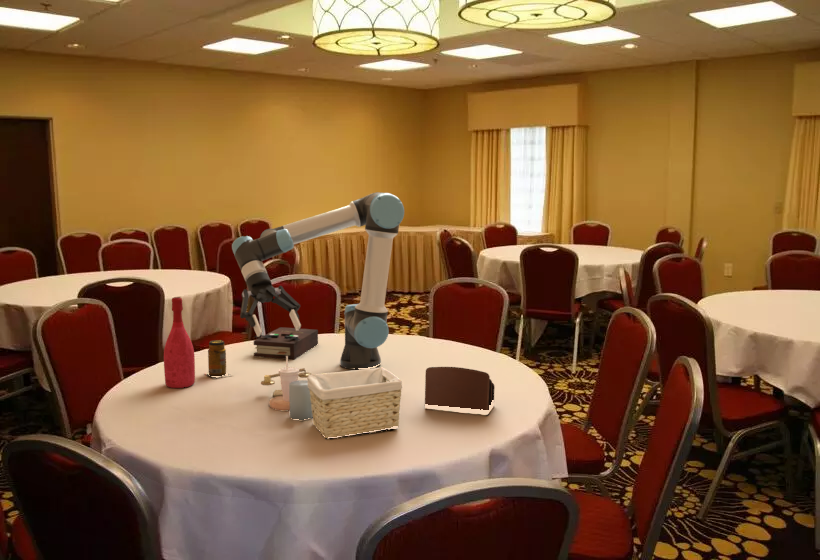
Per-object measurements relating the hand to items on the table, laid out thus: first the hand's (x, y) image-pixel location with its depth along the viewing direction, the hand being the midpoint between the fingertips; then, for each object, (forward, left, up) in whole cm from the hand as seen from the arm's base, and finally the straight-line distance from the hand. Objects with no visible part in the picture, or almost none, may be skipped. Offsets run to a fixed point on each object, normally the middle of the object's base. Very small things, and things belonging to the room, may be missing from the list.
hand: (279, 331), depth 224 cm
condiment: (+26, -27, -22) cm, 44 cm away
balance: (-1, -4, -22) cm, 22 cm away
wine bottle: (+36, -15, -22) cm, 45 cm away
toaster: (-56, +9, -22) cm, 61 cm away
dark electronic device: (+6, -63, -23) cm, 67 cm away
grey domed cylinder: (-8, +17, -22) cm, 29 cm away
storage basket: (-24, +26, -22) cm, 42 cm away
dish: (-3, +6, -22) cm, 23 cm away
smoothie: (-3, +5, -21) cm, 22 cm away
